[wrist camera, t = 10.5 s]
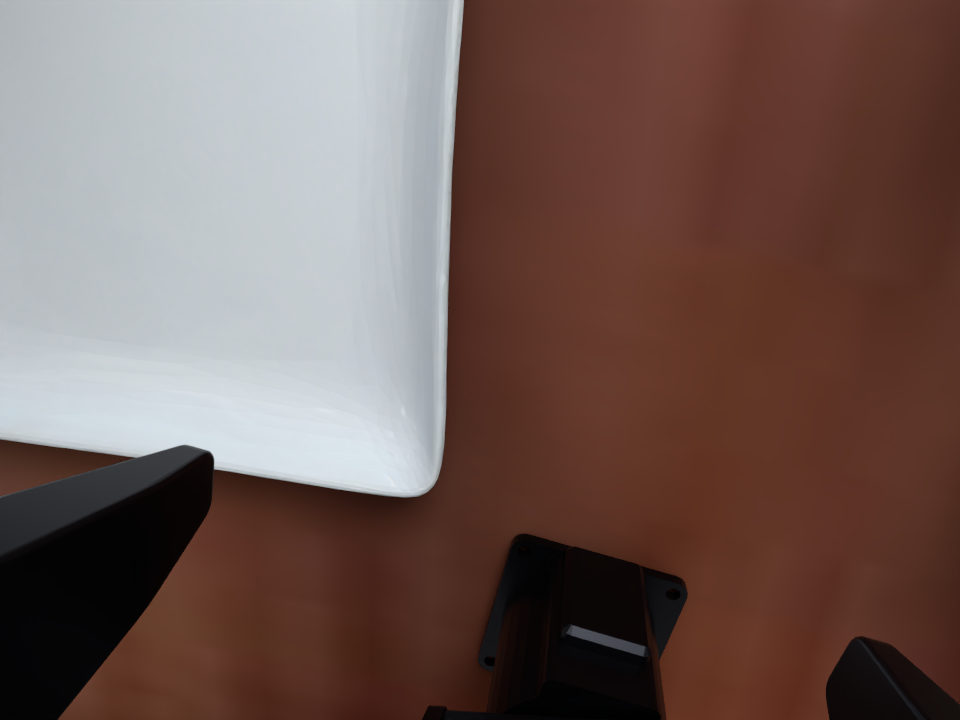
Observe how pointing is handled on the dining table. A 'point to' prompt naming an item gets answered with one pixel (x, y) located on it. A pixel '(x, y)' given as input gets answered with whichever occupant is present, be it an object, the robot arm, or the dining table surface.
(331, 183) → the salad plate
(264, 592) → the dining table surface
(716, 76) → the dining table surface
